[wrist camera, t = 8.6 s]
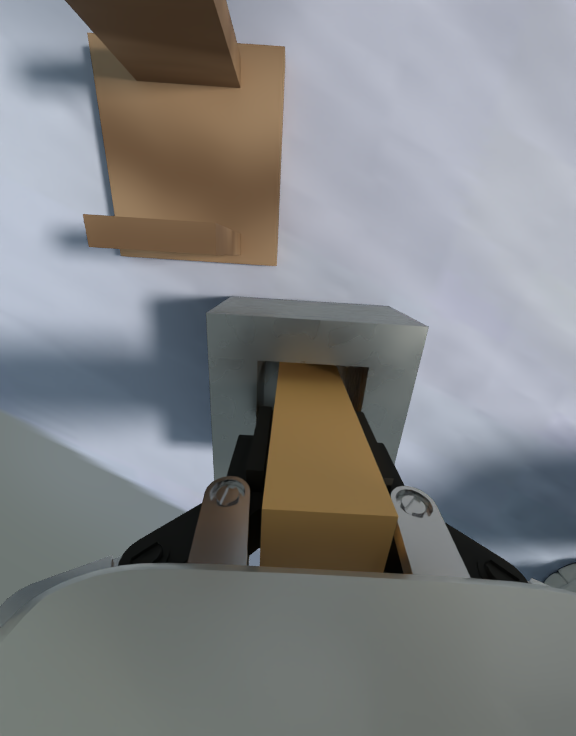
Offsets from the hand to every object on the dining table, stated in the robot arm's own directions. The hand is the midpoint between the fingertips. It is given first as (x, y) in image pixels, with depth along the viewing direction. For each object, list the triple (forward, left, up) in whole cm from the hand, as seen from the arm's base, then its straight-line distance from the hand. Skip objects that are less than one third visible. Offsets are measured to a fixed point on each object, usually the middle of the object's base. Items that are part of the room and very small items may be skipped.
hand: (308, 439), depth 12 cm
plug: (0, 0, -4) cm, 4 cm away
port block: (0, 0, -6) cm, 6 cm away
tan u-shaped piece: (-11, -6, -6) cm, 14 cm away
